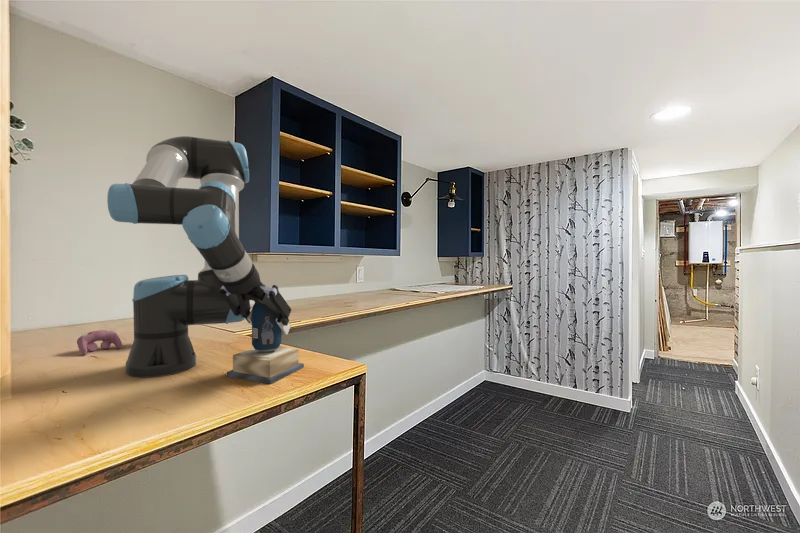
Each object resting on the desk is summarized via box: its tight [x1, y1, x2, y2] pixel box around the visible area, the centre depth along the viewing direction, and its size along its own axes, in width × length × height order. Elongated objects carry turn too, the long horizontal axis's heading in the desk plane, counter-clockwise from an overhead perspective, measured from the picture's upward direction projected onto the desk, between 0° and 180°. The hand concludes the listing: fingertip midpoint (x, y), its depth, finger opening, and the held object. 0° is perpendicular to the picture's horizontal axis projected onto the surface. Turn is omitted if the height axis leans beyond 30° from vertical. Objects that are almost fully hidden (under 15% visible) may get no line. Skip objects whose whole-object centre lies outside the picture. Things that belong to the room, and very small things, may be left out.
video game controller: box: [76, 329, 123, 356], centre depth 109 cm, size 10×5×7 cm, turn 146°
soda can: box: [251, 301, 282, 351], centre depth 94 cm, size 7×7×12 cm
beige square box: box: [226, 345, 305, 385], centre depth 94 cm, size 13×13×5 cm
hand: (273, 329), depth 97 cm, fingers closed on soda can, 7 cm apart
